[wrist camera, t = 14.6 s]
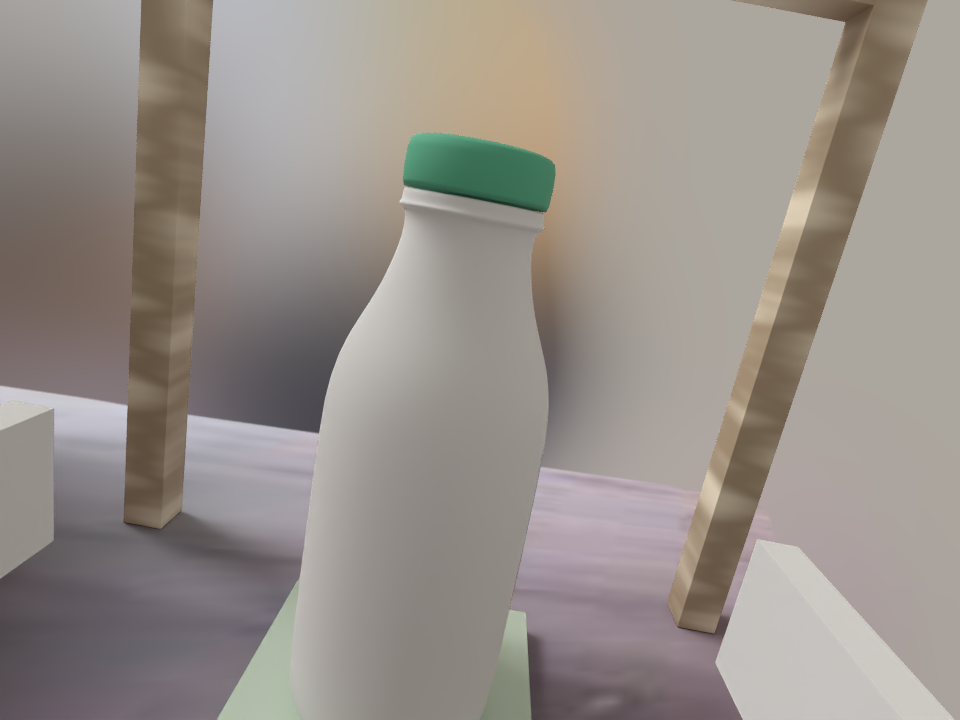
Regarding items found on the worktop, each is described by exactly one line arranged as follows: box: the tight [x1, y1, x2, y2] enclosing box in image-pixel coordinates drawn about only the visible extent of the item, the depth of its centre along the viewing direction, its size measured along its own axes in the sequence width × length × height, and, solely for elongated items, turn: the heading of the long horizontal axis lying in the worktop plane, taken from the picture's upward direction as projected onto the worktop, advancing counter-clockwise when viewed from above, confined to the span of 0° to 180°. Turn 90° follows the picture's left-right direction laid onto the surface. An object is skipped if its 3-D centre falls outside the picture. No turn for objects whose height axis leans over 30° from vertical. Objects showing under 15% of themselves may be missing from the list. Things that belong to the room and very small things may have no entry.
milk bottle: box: [289, 133, 555, 720], centre depth 20 cm, size 8×8×20 cm
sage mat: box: [217, 577, 531, 720], centre depth 22 cm, size 11×11×1 cm
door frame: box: [124, 0, 927, 634], centre depth 27 cm, size 32×2×33 cm, turn 87°
